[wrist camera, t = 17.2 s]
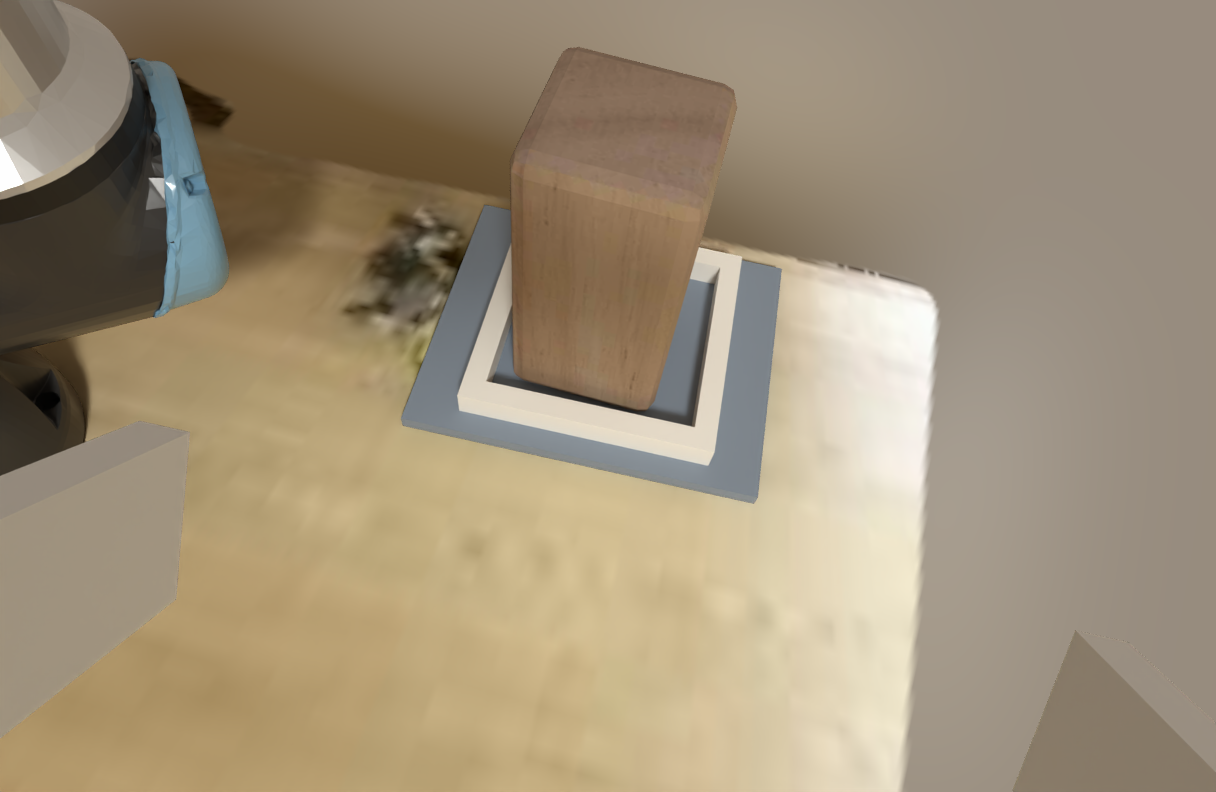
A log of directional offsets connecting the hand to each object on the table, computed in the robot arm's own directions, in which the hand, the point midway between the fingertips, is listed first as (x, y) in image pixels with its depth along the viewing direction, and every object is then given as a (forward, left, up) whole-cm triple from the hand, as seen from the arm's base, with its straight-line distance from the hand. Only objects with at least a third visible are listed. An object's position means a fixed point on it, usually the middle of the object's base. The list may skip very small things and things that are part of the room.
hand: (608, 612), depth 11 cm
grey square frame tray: (-8, +29, -36) cm, 46 cm away
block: (-8, +28, -35) cm, 45 cm away
